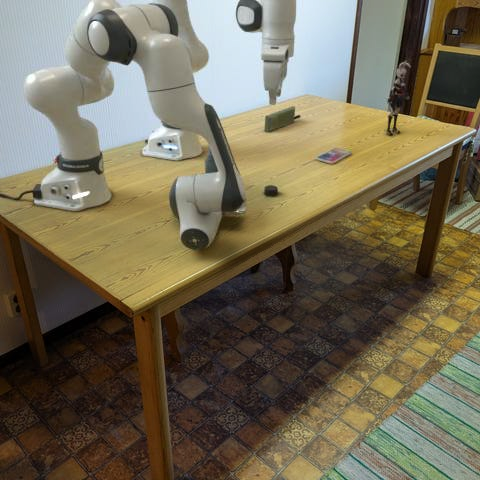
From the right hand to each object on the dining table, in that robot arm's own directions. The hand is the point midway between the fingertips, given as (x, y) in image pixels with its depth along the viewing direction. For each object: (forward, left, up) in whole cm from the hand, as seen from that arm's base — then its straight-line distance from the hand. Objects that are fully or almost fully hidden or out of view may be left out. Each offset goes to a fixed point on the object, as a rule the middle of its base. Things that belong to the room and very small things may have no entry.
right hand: (275, 100), depth 145 cm
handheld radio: (-4, +74, -29) cm, 79 cm away
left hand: (-15, -13, -24) cm, 31 cm away
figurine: (+42, +73, -29) cm, 89 cm away
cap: (0, 0, -28) cm, 28 cm away
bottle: (-15, -13, -29) cm, 35 cm away
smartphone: (+19, +38, -29) cm, 51 cm away
